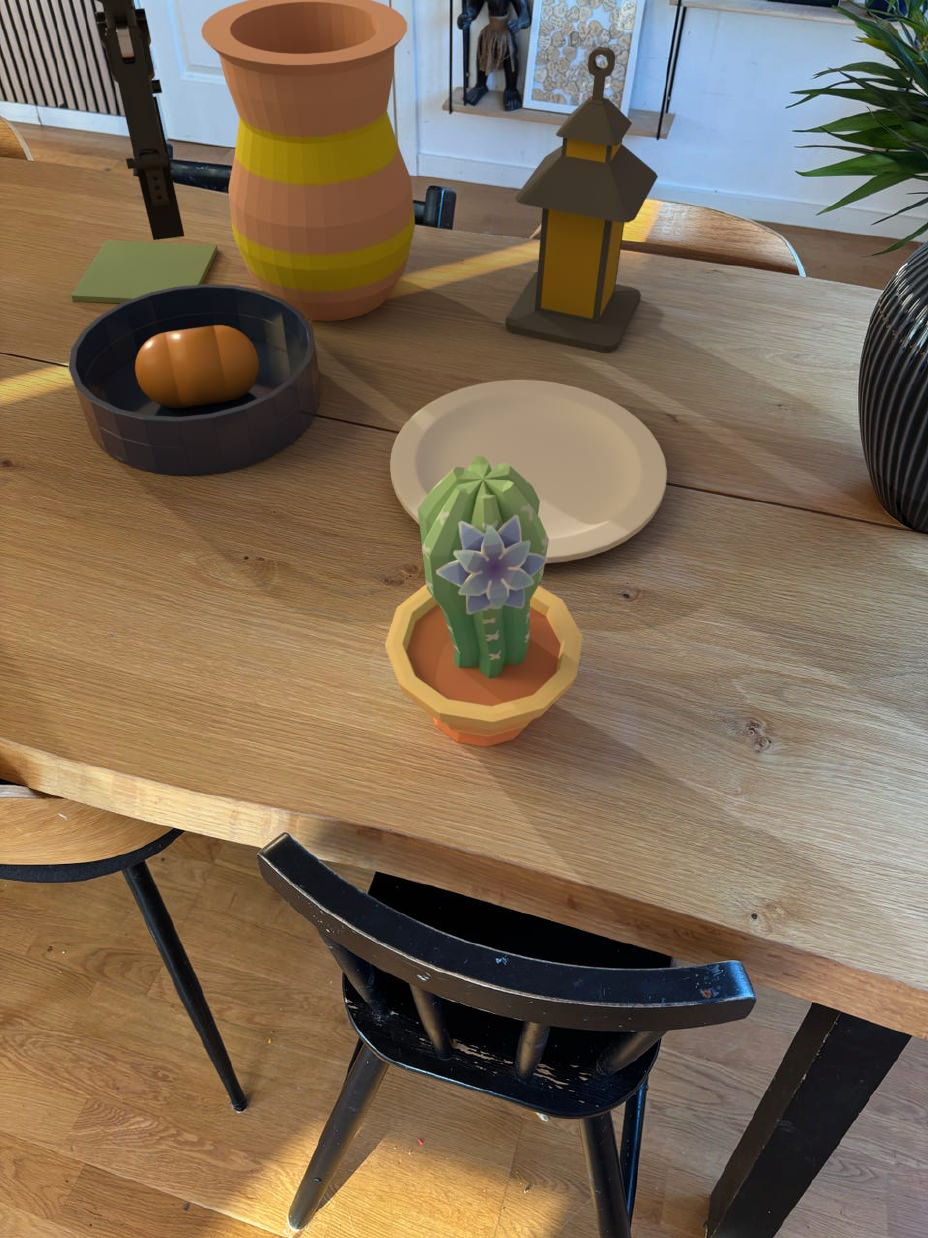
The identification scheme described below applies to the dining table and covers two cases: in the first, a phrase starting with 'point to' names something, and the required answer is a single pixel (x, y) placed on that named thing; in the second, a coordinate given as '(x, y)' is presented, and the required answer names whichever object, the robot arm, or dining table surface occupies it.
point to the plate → (541, 458)
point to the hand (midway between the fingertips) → (162, 201)
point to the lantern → (583, 227)
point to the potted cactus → (483, 611)
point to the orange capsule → (197, 366)
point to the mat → (142, 270)
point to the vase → (316, 151)
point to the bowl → (203, 431)
